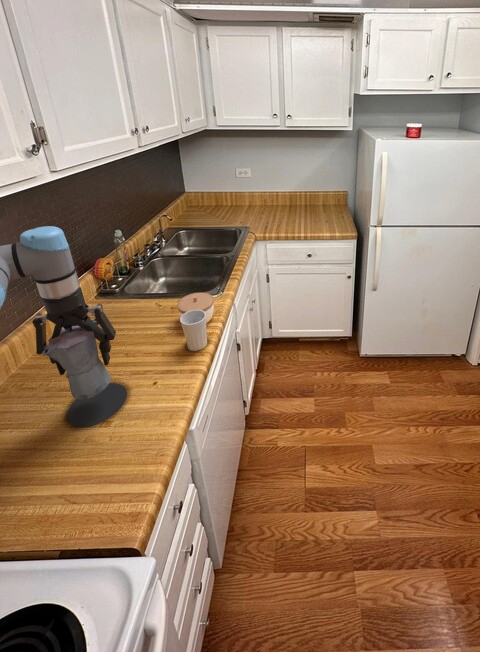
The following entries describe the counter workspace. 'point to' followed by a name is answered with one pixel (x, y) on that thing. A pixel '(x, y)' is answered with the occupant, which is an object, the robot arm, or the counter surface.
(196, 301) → the lidded bowl
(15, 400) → the counter surface
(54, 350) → the moka pot
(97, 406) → the trivet
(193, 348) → the cup
